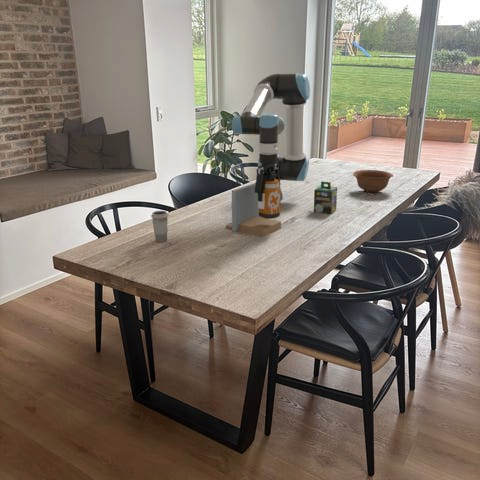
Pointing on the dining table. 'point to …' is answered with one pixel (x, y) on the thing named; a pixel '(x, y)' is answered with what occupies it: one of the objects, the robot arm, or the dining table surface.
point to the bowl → (372, 180)
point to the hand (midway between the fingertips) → (267, 205)
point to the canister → (271, 198)
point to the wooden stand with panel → (249, 213)
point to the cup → (160, 225)
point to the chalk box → (325, 198)
